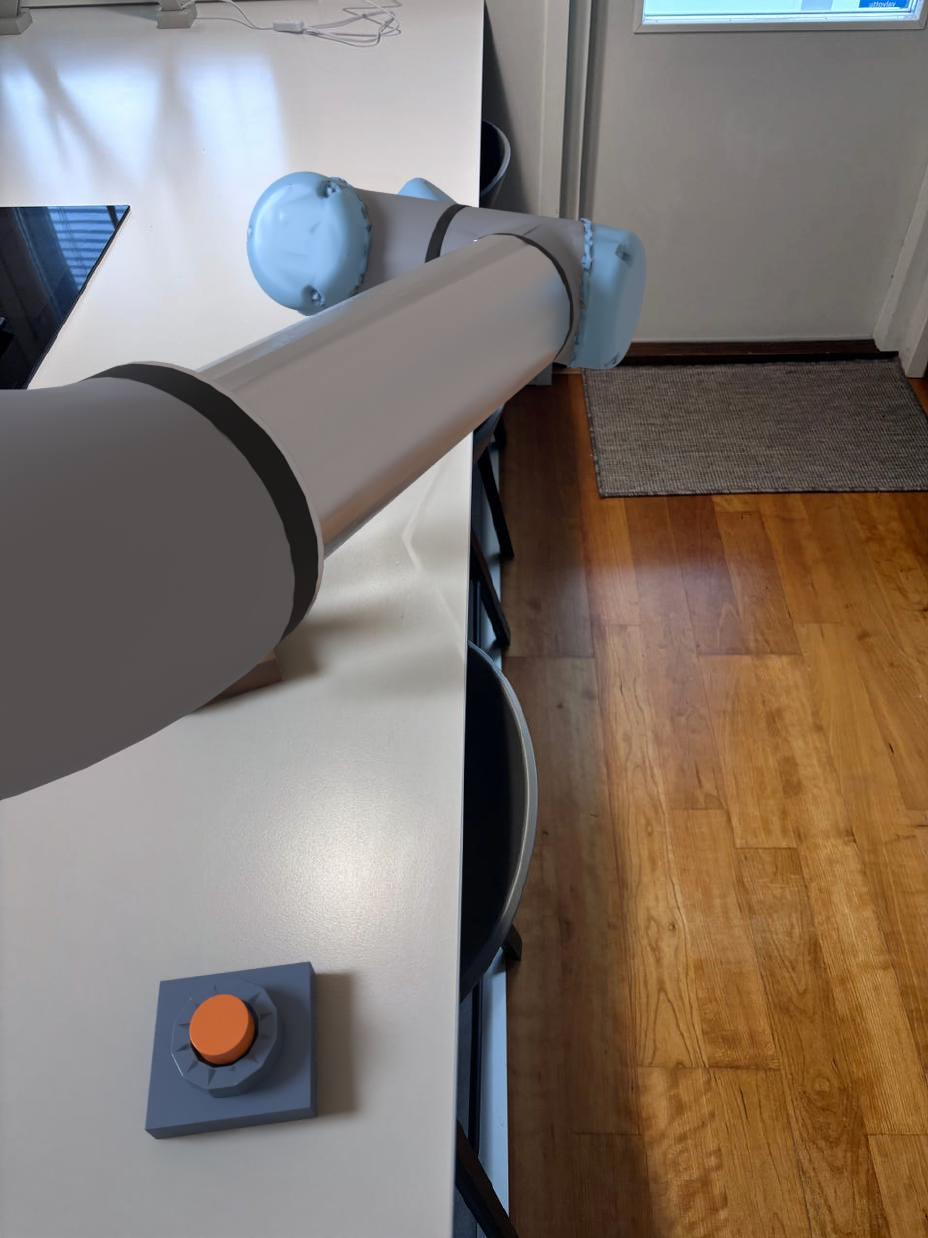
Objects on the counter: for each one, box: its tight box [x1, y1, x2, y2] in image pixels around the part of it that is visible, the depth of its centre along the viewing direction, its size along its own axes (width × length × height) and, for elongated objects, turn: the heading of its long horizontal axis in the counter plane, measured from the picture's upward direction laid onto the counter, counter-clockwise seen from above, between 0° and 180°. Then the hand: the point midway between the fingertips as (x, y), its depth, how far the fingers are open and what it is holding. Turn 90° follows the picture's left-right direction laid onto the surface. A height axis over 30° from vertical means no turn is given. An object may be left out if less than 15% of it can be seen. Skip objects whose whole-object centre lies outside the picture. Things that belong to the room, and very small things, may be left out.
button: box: [190, 994, 255, 1064], centre depth 58 cm, size 4×4×2 cm
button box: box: [144, 960, 318, 1140], centre depth 60 cm, size 10×9×4 cm
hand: (186, 585), depth 79 cm, fingers open, 13 cm apart
